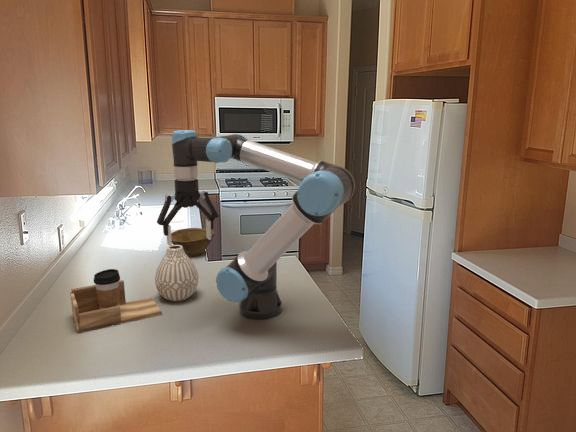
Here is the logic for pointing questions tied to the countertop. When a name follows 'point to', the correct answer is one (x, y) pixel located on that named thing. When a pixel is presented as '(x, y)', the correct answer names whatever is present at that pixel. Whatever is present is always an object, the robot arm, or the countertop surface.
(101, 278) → the coffee cup
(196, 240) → the bowl
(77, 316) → the shelf
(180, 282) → the vase
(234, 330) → the countertop surface
